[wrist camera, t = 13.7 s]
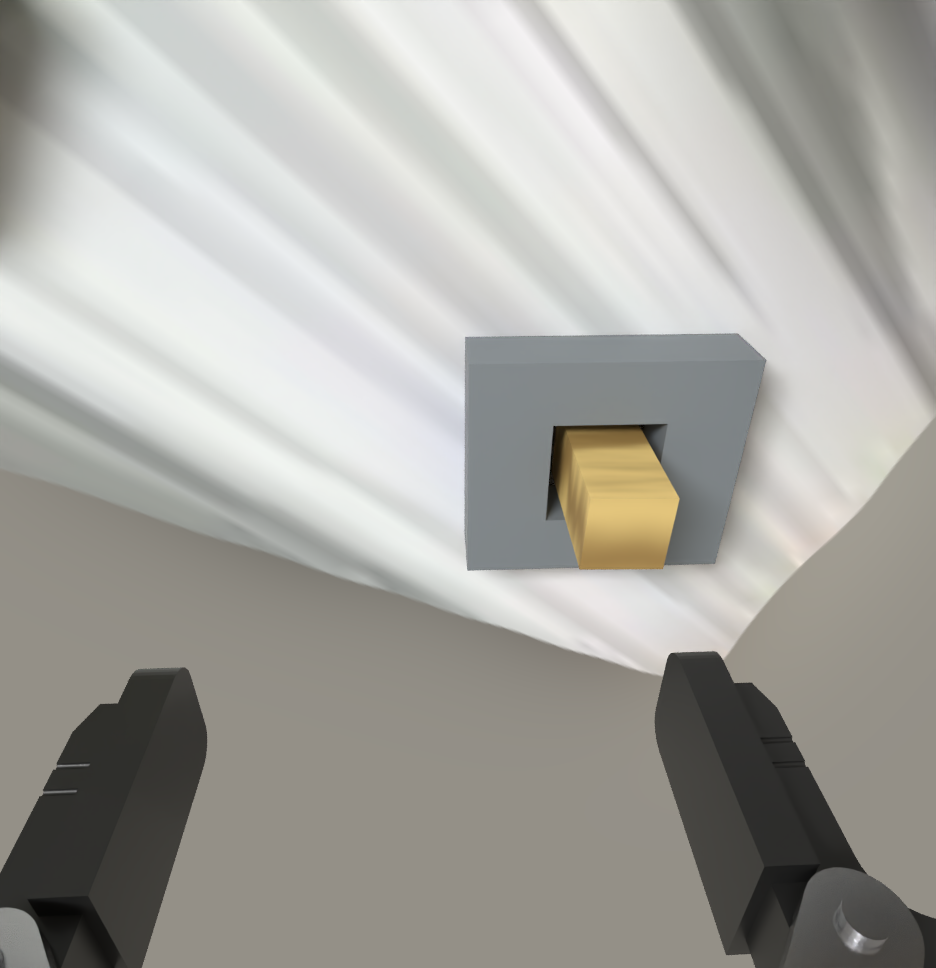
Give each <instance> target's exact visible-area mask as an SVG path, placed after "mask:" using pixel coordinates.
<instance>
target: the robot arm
mask: <svg viewBox="0 0 936 968" xmlns="http://www.w3.org/2000/svg"><path fill="white" fill-rule="evenodd" d="M655 732H656V739H657V744H658V748H659V752H660V755H661V758H662V761H663V763H664V767H665V770H666V773H667V776H668V779H669V782H670V785H671V788H672V791H673V794H674V797H675V800H676V803H677V806H678V809H679V812H680V816H681V818H682V822H683V825H684V828H685V831H686V833H687V837H688V840H689V843H690V846H691V849H692V852H693V855H694V858H695V861H696V864H697V867H698V870H699V874H700V877H701V880H702V882H703V886H704V889H705V892H706V895H707V898H708V901H709V904H710V907H711V910H712V913H713V916H714V919H715V922H716V925H717V928H718V931H719V934H720V938H721V941H722V944H723V946H724V950H725V953H726V955H738V954H751V956H752V959H753V961H754V965H755V967H756V968H936V919H934V918H931V917H928V916H925V915H923V914H920V913H918V912H916V911H914V910H911V909H909V908H907V906H906V905H905V904H904V903H903V902H902V900H901V899H900V898H899V897H898V896H897V895H896V894H895V893H894V892H893V891H891V890H890V889H889V888H888V887H886V886H885V885H884V884H882V883H881V882H880V881H878V880H876V879H874V878H873V877H871V876H869V875H867V873H866V872H865V871H864V870H863V868H862V867H861V865H860V864H859V862H858V860H857V859H856V857H855V855H854V853H853V852H852V850H851V848H850V846H849V844H848V842H847V840H846V838H845V836H844V834H843V833H842V830H841V829H840V827H839V825H838V823H837V821H836V819H835V817H834V815H833V813H832V811H831V810H830V808H829V806H828V804H827V802H826V800H825V798H824V796H823V794H822V792H821V791H820V789H819V787H818V785H817V783H816V781H815V780H814V778H813V776H812V773H811V771H810V770H809V768H808V767H806V766H805V762H804V761H805V760H804V758H803V756H802V755H801V752H800V751H799V749H798V747H797V745H796V743H795V742H793V741H792V735H791V734H790V732H789V730H788V728H787V726H786V724H785V722H784V720H783V718H782V716H781V714H780V713H779V711H778V709H777V707H776V706H775V705H774V704H773V703H772V702H771V701H770V700H768V698H767V697H765V695H763V694H762V693H761V692H760V691H759V690H758V689H757V688H756V687H755V686H754V685H753V684H752V683H734V682H733V680H732V678H731V676H730V674H729V672H728V670H727V668H726V666H725V663H724V661H723V660H722V658H721V656H720V655H719V654H718V653H717V652H714V651H712V652H682V653H671V654H670V655H669V656H668V659H667V662H666V667H665V671H664V676H663V680H662V684H661V689H660V694H659V698H658V702H657V707H656V712H655ZM206 751H207V731H206V725H205V722H204V719H203V715H202V712H201V709H200V705H199V702H198V699H197V695H196V692H195V689H194V686H193V682H192V679H191V676H190V673H189V671H188V670H187V669H186V668H157V669H138V670H136V671H135V672H134V673H133V674H132V676H131V677H130V679H129V681H128V683H127V685H126V687H125V689H124V692H123V694H122V696H121V698H120V700H119V702H118V704H100V705H99V706H98V707H97V708H96V709H95V710H94V711H93V712H92V713H91V714H90V715H89V716H88V717H87V718H86V719H85V720H84V721H83V722H82V723H81V724H80V725H79V726H78V727H77V728H76V730H74V731H73V732H72V734H71V736H70V738H69V740H68V742H67V744H66V746H65V748H64V750H63V752H62V754H61V756H60V758H59V760H58V762H57V768H56V770H53V771H52V773H51V775H50V777H49V779H48V782H47V783H46V785H45V787H44V789H43V791H44V793H43V795H42V796H40V797H39V799H38V801H37V803H36V805H35V807H34V808H33V811H32V812H31V814H30V816H29V818H28V820H27V822H26V824H25V826H24V828H23V830H22V832H21V834H20V836H19V838H18V840H17V842H16V844H15V846H14V847H13V849H12V851H11V853H10V855H9V857H8V859H7V861H6V863H5V865H4V867H3V869H2V871H1V873H0V968H142V965H143V962H144V958H145V955H146V952H147V949H148V945H149V942H150V939H151V936H152V933H153V929H154V926H155V923H156V919H157V916H158V913H159V909H160V907H161V903H162V900H163V897H164V894H165V890H166V887H167V884H168V881H169V877H170V874H171V871H172V867H173V864H174V861H175V858H176V855H177V851H178V848H179V845H180V842H181V838H182V835H183V832H184V829H185V825H186V822H187V819H188V816H189V812H190V809H191V806H192V802H193V799H194V796H195V793H196V790H197V787H198V783H199V780H200V777H201V774H202V770H203V767H204V763H205V758H206Z"/></svg>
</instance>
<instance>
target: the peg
mask: <svg viewBox="0 0 936 968" xmlns="http://www.w3.org/2000/svg"><path fill="white" fill-rule="evenodd" d="M551 472H552V476H553V479H554V483H555V486H556V489H557V493H558V496H559V500H560V503H561V507H562V510H563V514H564V517H565V521H566V524H567V528H568V531H569V534H570V538H571V541H572V545H573V548H574V552H575V555H576V559H577V562H578V566H579V569H663V567H664V563H665V558H666V554H667V550H668V546H669V542H670V537H671V533H672V529H673V525H674V520H675V516H676V512H677V508H678V504H679V497H678V495H677V493H676V491H675V489H674V488H673V486H672V484H671V482H670V480H669V479H668V477H667V475H666V473H665V471H664V470H663V468H662V466H661V464H660V462H659V461H658V459H657V457H656V455H655V453H654V452H653V450H652V448H651V446H650V444H649V442H648V441H647V439H646V437H645V435H644V433H643V432H642V430H641V428H640V426H639V424H632V425H578V426H556V433H555V442H554V451H553V460H552V468H551Z"/></svg>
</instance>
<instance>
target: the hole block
mask: <svg viewBox="0 0 936 968" xmlns="http://www.w3.org/2000/svg"><path fill="white" fill-rule="evenodd" d="M765 363H766V360H765V359H764V358H763V357H762V356H761V355H760V354H759V353H758V352H757V351H756V350H755V349H754V348H753V347H752V346H751V345H750V344H748V343H747V342H746V341H745V340H744V339H743V338H742V337H741V336H740V335H739V334H678V335H599V336H521V337H465V544H466V557H467V570H468V571H469V570H505V569H541V568H576V567H579V566H578V562H577V559H576V555H575V552H574V548H573V545H572V541H571V538H570V534H569V531H568V528H567V524H566V521H565V517H564V514H563V510H562V507H561V503H560V500H559V496H558V493H557V489H556V486H555V485H549V473H550V460H551V448H552V436H553V426H578V425H632V424H644V426H643V433H644V435H645V437H646V439H647V441H648V442H649V444H650V446H651V448H652V450H653V452H654V453H655V455H656V457H657V459H658V461H659V462H660V464H661V466H662V468H663V470H664V471H665V473H666V475H667V477H668V479H669V480H670V482H671V484H672V486H673V488H674V489H675V491H676V493H677V495H678V497H679V504H678V508H677V512H676V516H675V520H674V525H673V529H672V533H671V537H670V542H669V546H668V550H667V554H666V558H665V563H664V565H684V564H715V561H716V557H717V553H718V549H719V545H720V541H721V537H722V533H723V529H724V525H725V521H726V517H727V513H728V509H729V505H730V502H731V498H732V494H733V490H734V486H735V482H736V478H737V474H738V470H739V466H740V462H741V458H742V454H743V450H744V446H745V442H746V438H747V434H748V430H749V426H750V422H751V418H752V414H753V410H754V406H755V402H756V398H757V395H758V391H759V387H760V383H761V379H762V375H763V371H764V367H765Z"/></svg>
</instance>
